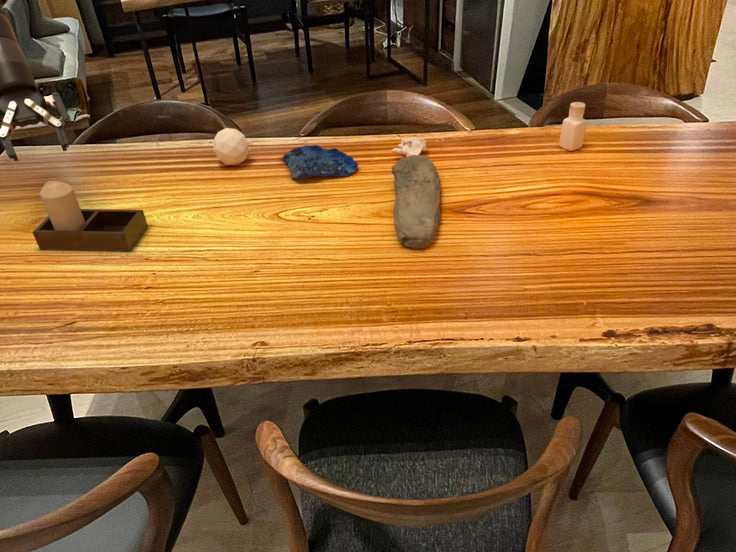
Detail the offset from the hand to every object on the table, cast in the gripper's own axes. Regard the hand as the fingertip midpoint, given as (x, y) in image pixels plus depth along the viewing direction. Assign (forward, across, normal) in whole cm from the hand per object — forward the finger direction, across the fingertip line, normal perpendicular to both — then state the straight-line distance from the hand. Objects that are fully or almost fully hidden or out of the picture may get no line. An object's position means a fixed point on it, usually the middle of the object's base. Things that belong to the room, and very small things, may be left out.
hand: (40, 154), depth 115 cm
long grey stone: (+32, +61, -14) cm, 71 cm away
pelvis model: (+18, +73, 0) cm, 75 cm away
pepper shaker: (+29, +106, -11) cm, 110 cm away
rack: (+17, +4, +1) cm, 18 cm away
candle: (+15, 0, +3) cm, 15 cm away
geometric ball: (+5, +38, +14) cm, 40 cm away
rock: (+13, +53, +6) cm, 54 cm away
